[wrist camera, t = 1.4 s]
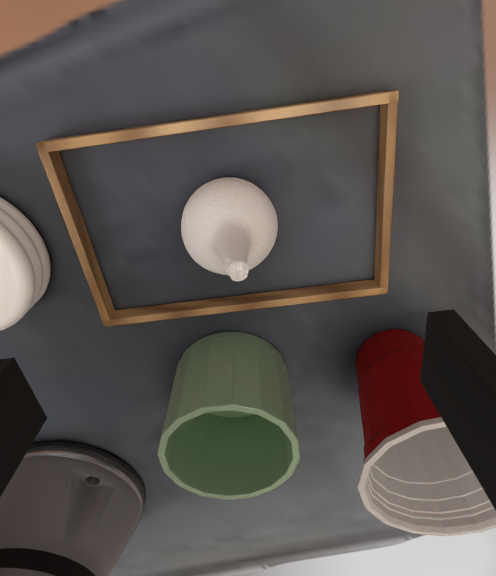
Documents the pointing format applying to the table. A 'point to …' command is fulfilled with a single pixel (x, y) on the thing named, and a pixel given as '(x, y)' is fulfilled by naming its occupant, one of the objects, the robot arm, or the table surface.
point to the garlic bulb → (229, 226)
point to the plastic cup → (412, 447)
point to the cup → (230, 419)
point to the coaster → (20, 265)
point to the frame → (386, 131)
